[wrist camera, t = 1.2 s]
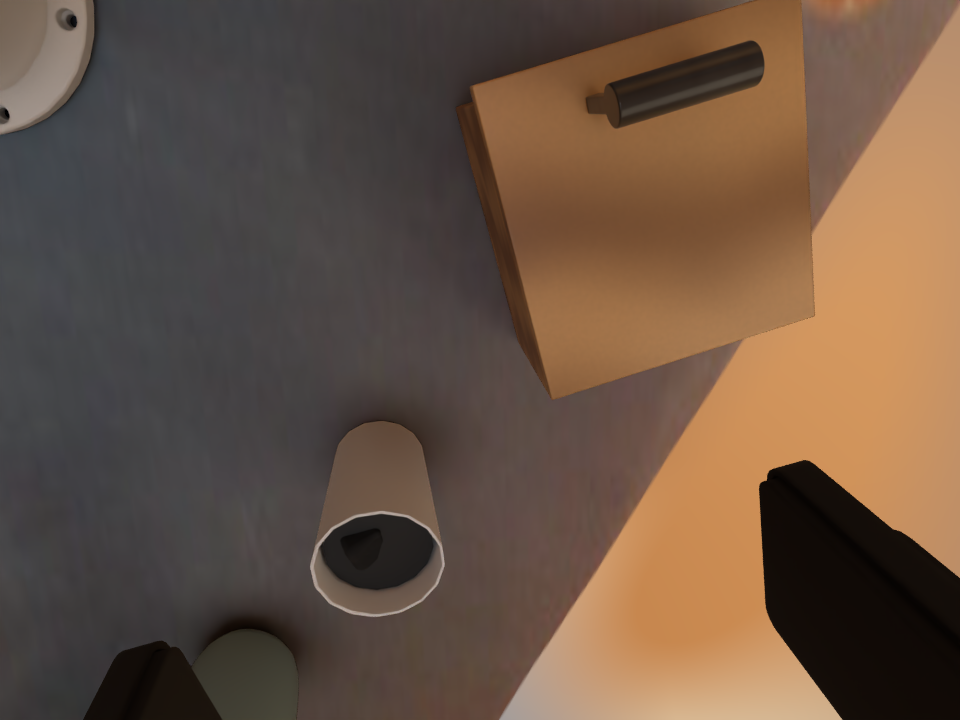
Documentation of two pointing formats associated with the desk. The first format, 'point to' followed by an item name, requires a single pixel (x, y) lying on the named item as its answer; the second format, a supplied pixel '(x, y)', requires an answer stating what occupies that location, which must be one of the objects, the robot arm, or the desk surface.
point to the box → (498, 232)
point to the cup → (249, 676)
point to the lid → (657, 192)
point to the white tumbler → (378, 525)
